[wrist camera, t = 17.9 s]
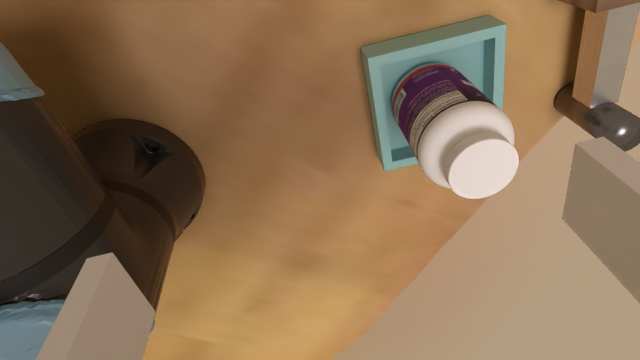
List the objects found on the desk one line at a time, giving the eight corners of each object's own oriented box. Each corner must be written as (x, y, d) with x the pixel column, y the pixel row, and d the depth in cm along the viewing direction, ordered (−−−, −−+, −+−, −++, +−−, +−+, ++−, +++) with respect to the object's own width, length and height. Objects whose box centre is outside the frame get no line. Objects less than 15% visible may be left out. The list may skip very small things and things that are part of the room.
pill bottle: (473, 107, 45) (546, 182, 33) (406, 143, 46) (453, 226, 34) (448, 43, 40) (522, 103, 28) (375, 85, 42) (417, 159, 30)
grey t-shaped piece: (584, 108, 47) (642, 147, 40) (553, 115, 47) (605, 156, 40) (614, -61, 37) (699, -51, 30) (574, -51, 37) (650, -39, 30)
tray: (377, 154, 48) (384, 171, 45) (360, 46, 41) (367, 58, 38) (486, 128, 48) (500, 143, 45) (489, 14, 40) (506, 23, 37)
